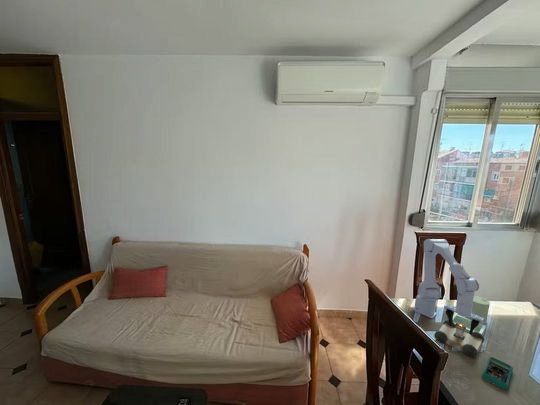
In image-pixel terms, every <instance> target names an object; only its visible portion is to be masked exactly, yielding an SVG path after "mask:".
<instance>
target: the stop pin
mask: <svg viewBox="0 0 540 405" xmlns="http://www.w3.org/2000/svg"><path fill="white" fill-rule="evenodd" d="M455 326H456V333H455V337H457V338H459V339H461V340H463V336H464V330H466V326H465V325H464V324H462V323H456V325H455Z"/></svg>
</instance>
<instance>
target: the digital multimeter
mask: <svg viewBox="0 0 540 405" xmlns="http://www.w3.org/2000/svg"><path fill="white" fill-rule="evenodd" d="M513 371H514V368H513V366H512V365H509V364H508V363H506V362H504V361H502V360H500V359H497V358H495V357H493V356H489V357H488V362H487V364H486V366H485V368H484V370H483V372H482V375H481V378H482V379H484V380H485V379H486V380H485V381H487V380H488V381H487V382H489V381H490V382H491V384H492V383H494V384H495V385H494V384H493V385H494V386H496V385H497V386H496V387H498V386H499V387H498V388H500V387H501V388H500V389H502V388H503V389H502V390H504V389H505V390H504V391H508V389H509V388H508V387H509V383H510V378H511V376H512V373H513ZM490 382H489V383H490Z"/></svg>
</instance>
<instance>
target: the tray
mask: <svg viewBox="0 0 540 405" xmlns="http://www.w3.org/2000/svg"><path fill="white" fill-rule="evenodd" d="M471 321H472V320H470V319H467V318H466V317H465V316H464V317H462V316H460V315H458V314H457V313H454V315H453V322H454V323H455V325H456V323H462V324H464V325H465V326H466V330H464V332H466V333H468V334H469V332H470V328H471ZM486 327H487V326H486V324H480V323H479V325H478V326H477V327H476V328H475V329H474V330H473V332H474V331H476V332H479V333H481V334H482V335H483V336H484V334H485V333H486Z"/></svg>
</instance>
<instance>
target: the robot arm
mask: <svg viewBox="0 0 540 405" xmlns="http://www.w3.org/2000/svg"><path fill="white" fill-rule="evenodd" d="M423 253H424V254H423V256H424V259H423V260H424V263H423V264H424V265H423V267H424V270H423V274H424V276H423V278H424V279H423V281H422V282H420V283H419V285H418V289H417V295H416V297H415V302H414V309H413V311H414V312H416V313H418V314H419V315H423V316H426V317H428V318H430V319H434V317H435V316H436V315H437V314H438V313H437V312H436V305H437V301H439V299H441V296H442V292H441V288H440V287H441V286H439V284H437V283H436V264H437V263H436V261H437V260H436V256H437V255H438V254H439V255H441V257H442V258H443V259H444V261H445V262H446V263H447V264H448V265H449V268H448V269H449V272H450V273H451V275H452V276H453V278H454V280H456V281H455V284H456V290H457V298H456V305H455V306H454V305H450V304H447V303H445V304H444V305H443V310H445V315H446V317H447V320H449V326H451V325H452V323H453V315H454V314H457V315H460V316H462V317H465V318H466V317H468V318H470V319H473V320H472V321H471V328H470V332H469V334H470V335H471V334H472V332H473V330H474V329H475V328H476V327H477V326H478V325H479V323H481V324H482V325H484V324H483V321H484V318H482V317H479V316H477V315H475V314H474V313H472V312H471V311H472V305H473V299H474V296H475V292H477V291H479V289H480V283H479V282H478V280H477V279H476V278H474V277H472V276H471V275H470V274H469V273H468V272H467V270H466V269H465V267H464V266H463V265H462V264H461V263H458V262H457V260H456V259H455V256H454V255H453V253H452V252H451V250H450V244H449V242H448V241H447V239H445V238H441V239H440V238H439V239H437V238H436V239H435V238H432V239H431V238H427V239H425V240H424V241H423Z"/></svg>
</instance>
